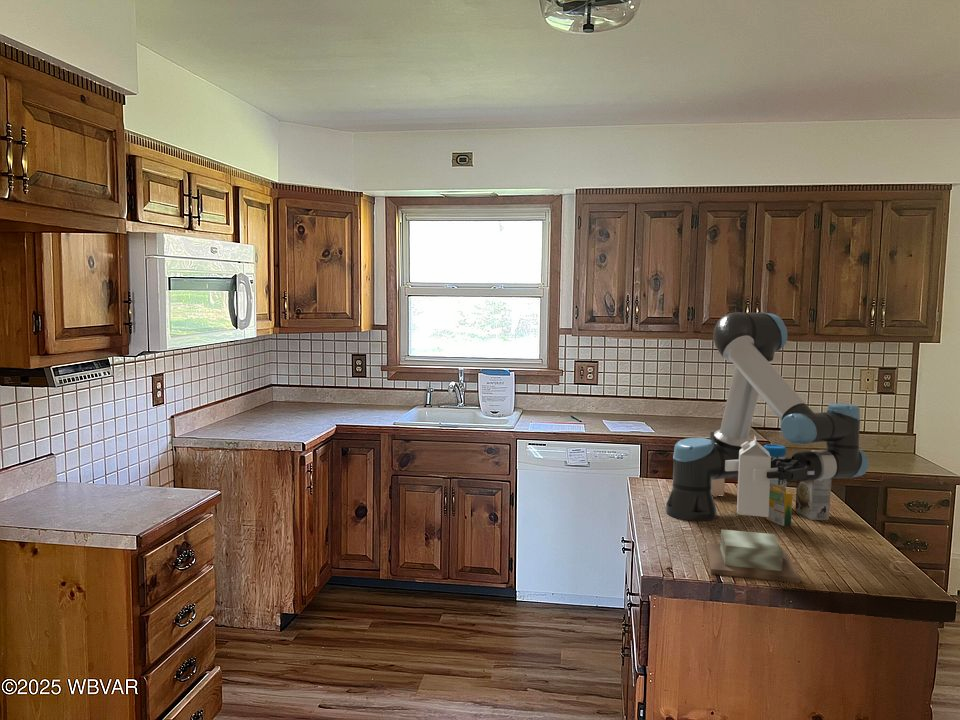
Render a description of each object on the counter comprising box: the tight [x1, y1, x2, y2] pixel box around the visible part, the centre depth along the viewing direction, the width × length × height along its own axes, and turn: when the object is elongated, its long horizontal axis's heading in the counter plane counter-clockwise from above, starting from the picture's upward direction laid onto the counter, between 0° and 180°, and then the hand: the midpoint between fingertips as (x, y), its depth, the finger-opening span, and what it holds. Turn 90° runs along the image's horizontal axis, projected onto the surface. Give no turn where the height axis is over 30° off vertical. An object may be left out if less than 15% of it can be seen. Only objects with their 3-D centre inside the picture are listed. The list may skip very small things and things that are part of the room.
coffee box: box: [795, 479, 832, 521], centre depth 216 cm, size 9×6×16 cm
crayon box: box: [765, 483, 793, 527], centre depth 209 cm, size 7×3×12 cm, turn 20°
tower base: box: [704, 529, 801, 584], centre depth 174 cm, size 20×20×6 cm
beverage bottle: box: [763, 443, 788, 490], centre depth 227 cm, size 8×8×20 cm
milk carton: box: [736, 435, 771, 518], centre depth 173 cm, size 7×7×19 cm
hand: (739, 470), depth 171 cm, fingers closed on milk carton, 10 cm apart
